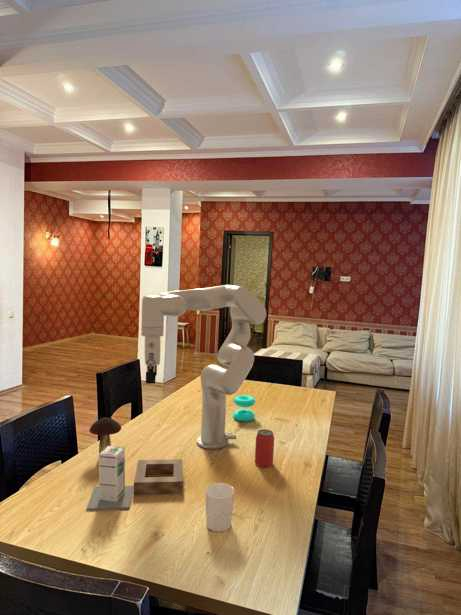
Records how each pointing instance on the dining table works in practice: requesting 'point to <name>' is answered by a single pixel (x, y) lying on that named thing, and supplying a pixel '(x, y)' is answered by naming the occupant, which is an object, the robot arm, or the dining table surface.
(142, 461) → the walnut pocket holder
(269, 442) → the beer can
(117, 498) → the syrup box
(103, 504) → the slate mat
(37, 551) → the dining table surface
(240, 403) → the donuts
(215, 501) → the white cup
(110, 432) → the decorative mushroom
